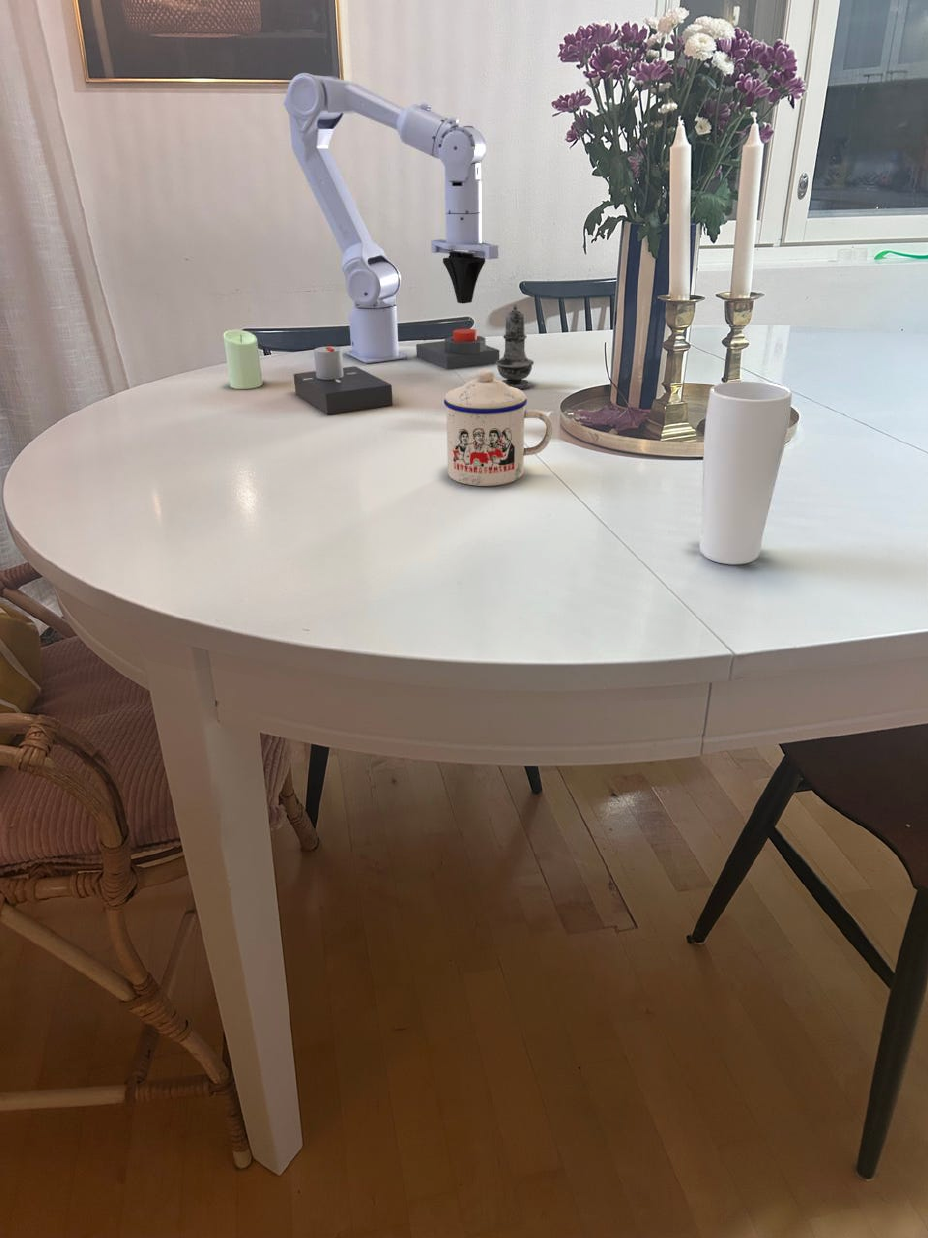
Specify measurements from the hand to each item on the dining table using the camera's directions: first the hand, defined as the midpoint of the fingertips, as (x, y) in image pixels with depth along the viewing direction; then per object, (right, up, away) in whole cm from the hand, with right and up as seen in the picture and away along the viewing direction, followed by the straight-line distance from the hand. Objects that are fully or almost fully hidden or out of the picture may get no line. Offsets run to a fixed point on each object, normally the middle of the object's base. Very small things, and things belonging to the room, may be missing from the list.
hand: (464, 302), depth 150 cm
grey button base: (-1, -7, +7) cm, 10 cm away
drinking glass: (+24, -47, -67) cm, 85 cm away
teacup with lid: (+4, -36, -47) cm, 59 cm away
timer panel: (-18, -20, -16) cm, 31 cm away
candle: (-34, -16, -7) cm, 39 cm away
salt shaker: (+8, -16, -10) cm, 21 cm away
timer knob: (-20, -17, -16) cm, 31 cm away
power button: (0, -6, +3) cm, 6 cm away
